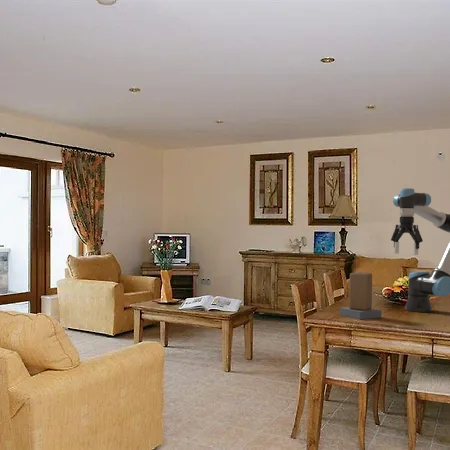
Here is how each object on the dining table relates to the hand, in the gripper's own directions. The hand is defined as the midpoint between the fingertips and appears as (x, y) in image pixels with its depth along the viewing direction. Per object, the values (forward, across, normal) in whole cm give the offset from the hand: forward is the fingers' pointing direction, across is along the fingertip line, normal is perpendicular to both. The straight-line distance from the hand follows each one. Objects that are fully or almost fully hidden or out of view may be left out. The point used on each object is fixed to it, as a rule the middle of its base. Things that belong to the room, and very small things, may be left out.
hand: (406, 254), depth 292 cm
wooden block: (+31, -11, -23) cm, 40 cm away
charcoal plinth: (+35, -11, -23) cm, 43 cm away
